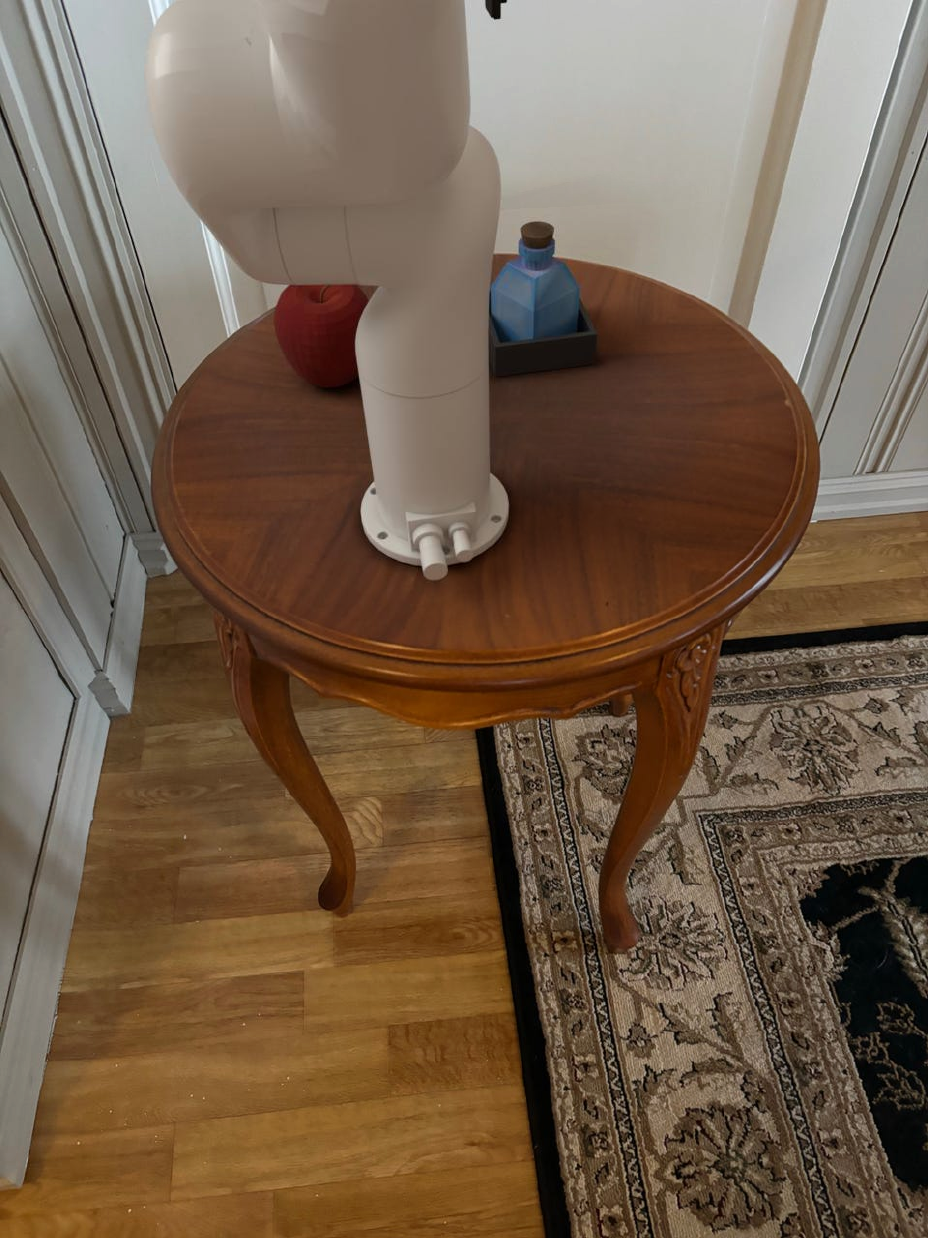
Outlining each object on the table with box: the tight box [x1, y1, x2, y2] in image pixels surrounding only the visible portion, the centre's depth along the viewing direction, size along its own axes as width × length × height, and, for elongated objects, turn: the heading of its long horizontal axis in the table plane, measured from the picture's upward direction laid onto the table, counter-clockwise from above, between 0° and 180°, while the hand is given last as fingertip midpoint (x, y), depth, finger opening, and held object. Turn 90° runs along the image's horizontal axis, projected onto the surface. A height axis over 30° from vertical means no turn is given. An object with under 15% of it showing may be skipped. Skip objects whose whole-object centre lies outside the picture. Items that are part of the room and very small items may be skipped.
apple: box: [273, 284, 370, 389], centre depth 86 cm, size 10×10×10 cm
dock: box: [488, 289, 598, 378], centre depth 91 cm, size 10×10×4 cm
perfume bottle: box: [490, 220, 581, 343], centre depth 88 cm, size 6×6×12 cm
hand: (435, 19), depth 73 cm, fingers open, 9 cm apart
